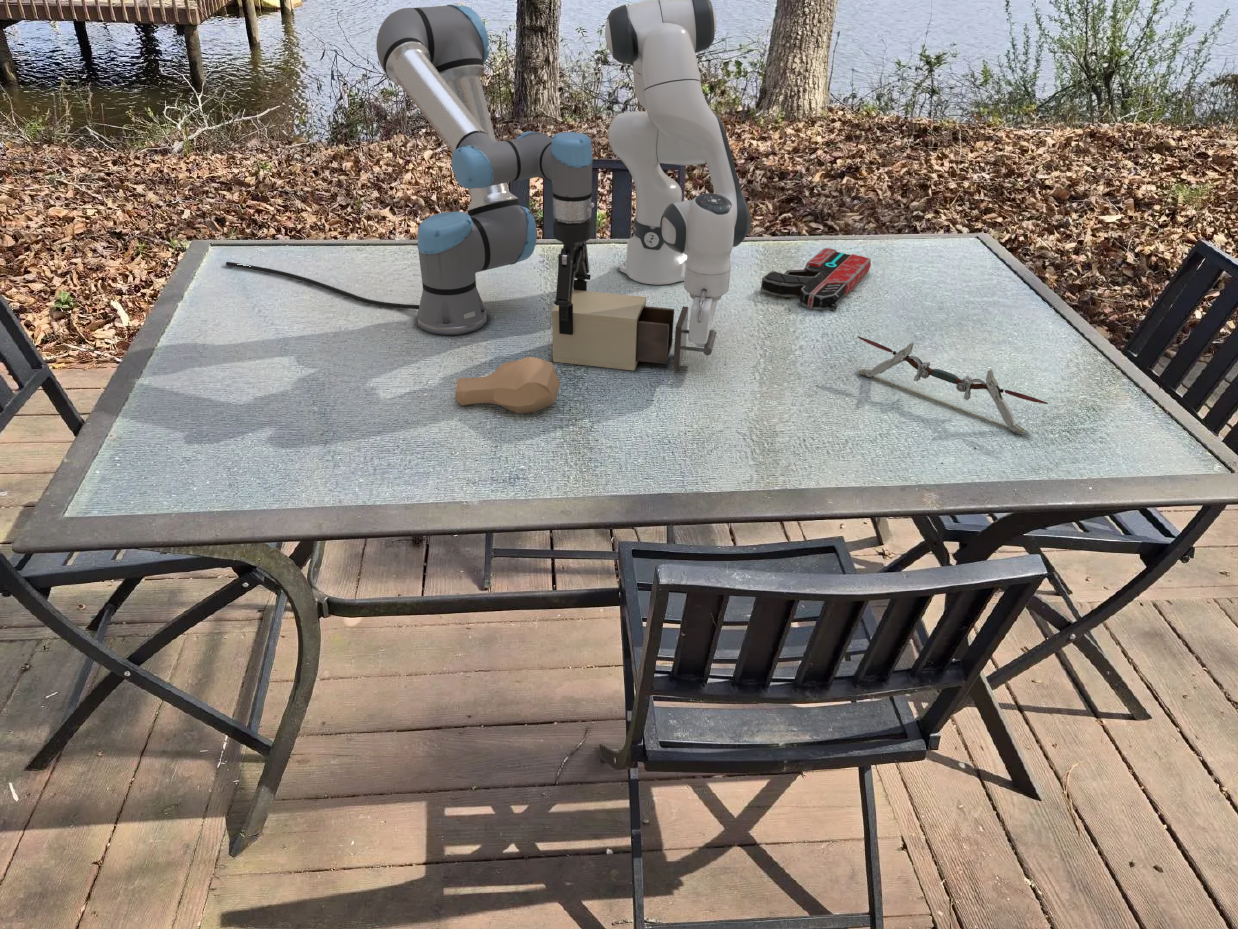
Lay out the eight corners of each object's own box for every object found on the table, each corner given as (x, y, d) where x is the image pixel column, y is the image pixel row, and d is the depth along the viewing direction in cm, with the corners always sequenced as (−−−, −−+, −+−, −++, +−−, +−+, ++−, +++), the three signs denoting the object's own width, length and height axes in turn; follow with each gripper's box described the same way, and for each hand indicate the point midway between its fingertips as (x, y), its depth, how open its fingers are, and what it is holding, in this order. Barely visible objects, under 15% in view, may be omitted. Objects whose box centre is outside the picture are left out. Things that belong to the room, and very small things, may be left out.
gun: (758, 278, 211) (834, 298, 203) (804, 240, 233) (875, 256, 225) (755, 296, 213) (831, 316, 205) (802, 256, 235) (872, 273, 227)
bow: (1038, 437, 161) (1054, 389, 156) (1034, 440, 160) (1051, 392, 155) (853, 367, 183) (861, 323, 177) (848, 370, 182) (857, 326, 176)
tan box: (644, 346, 189) (646, 296, 182) (634, 370, 179) (636, 319, 173) (566, 338, 191) (565, 288, 185) (552, 361, 182) (551, 310, 176)
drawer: (715, 350, 185) (718, 309, 180) (709, 373, 177) (713, 330, 172) (612, 340, 189) (613, 299, 184) (602, 361, 180) (603, 319, 175)
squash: (562, 419, 163) (554, 381, 157) (456, 427, 164) (445, 390, 158) (565, 383, 171) (557, 345, 164) (464, 391, 172) (453, 354, 166)
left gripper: (576, 240, 160) (577, 347, 172) (604, 201, 179) (603, 300, 192) (537, 236, 161) (540, 343, 173) (568, 198, 181) (569, 297, 193)
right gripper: (717, 303, 163) (711, 369, 171) (727, 263, 180) (721, 324, 188) (683, 299, 164) (679, 365, 172) (697, 260, 181) (692, 321, 188)
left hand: (573, 321), depth 182 cm, fingers closed on tan box, 11 cm apart
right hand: (701, 343), depth 180 cm, fingers closed
